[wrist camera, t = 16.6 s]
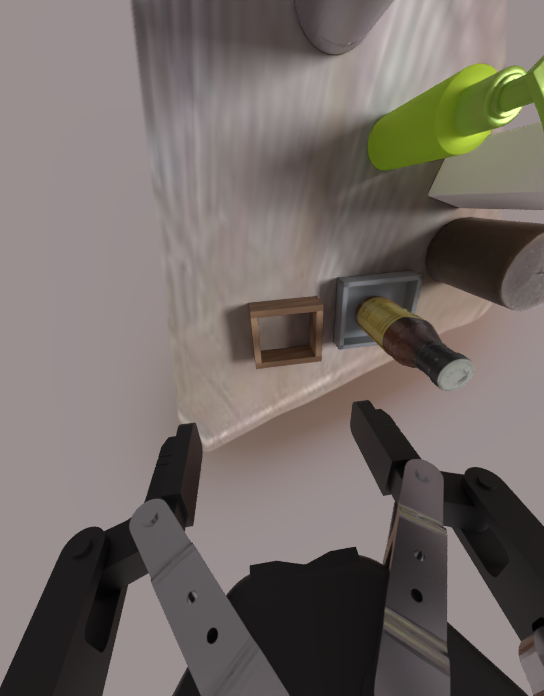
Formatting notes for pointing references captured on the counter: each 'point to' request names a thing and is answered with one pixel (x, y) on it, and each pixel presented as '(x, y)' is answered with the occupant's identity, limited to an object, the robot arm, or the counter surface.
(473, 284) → the pillar candle
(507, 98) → the soap dispenser
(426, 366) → the sauce bottle
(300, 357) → the collar
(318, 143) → the counter surface
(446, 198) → the milk
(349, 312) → the tray
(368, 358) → the counter surface
